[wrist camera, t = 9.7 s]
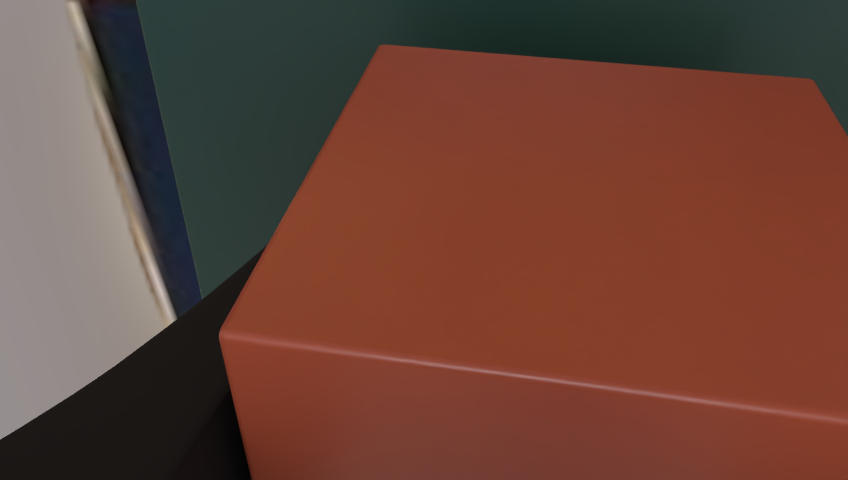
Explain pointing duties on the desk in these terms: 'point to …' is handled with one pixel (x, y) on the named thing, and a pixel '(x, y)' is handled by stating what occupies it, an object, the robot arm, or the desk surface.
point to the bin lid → (415, 27)
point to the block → (554, 280)
